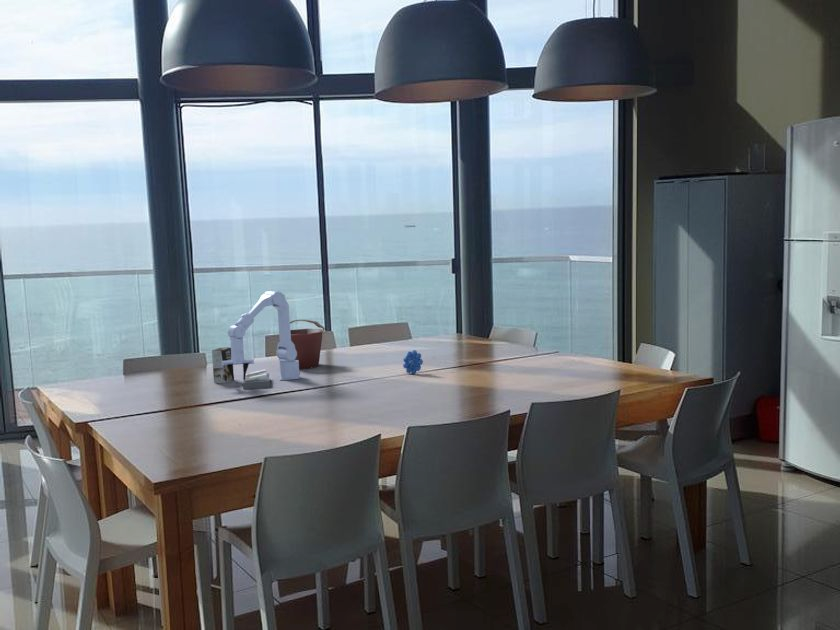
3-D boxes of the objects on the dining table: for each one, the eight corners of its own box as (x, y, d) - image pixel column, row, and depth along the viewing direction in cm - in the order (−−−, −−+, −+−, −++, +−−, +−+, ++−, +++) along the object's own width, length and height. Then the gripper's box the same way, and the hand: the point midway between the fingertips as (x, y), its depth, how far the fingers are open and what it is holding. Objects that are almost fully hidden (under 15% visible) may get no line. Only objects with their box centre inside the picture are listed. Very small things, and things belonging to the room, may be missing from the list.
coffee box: (225, 383, 402) (223, 350, 400) (213, 383, 404) (211, 350, 402) (233, 379, 411) (231, 347, 409) (221, 379, 413) (219, 347, 411)
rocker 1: (266, 371, 404) (266, 368, 404) (266, 372, 401) (266, 369, 401) (246, 376, 403) (245, 373, 403) (246, 377, 400) (245, 374, 400)
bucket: (334, 364, 443) (332, 317, 440) (307, 371, 424) (305, 323, 421) (299, 361, 456) (296, 316, 453) (271, 368, 437) (268, 321, 434)
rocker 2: (266, 376, 394) (266, 373, 393) (266, 377, 391) (266, 374, 391) (245, 380, 392) (245, 377, 392) (245, 381, 389) (245, 378, 389)
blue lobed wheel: (428, 373, 408) (427, 349, 406) (420, 376, 402) (419, 351, 401) (408, 371, 414) (407, 347, 413) (400, 374, 409) (399, 349, 408)
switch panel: (269, 379, 408) (269, 372, 408) (269, 387, 388) (269, 380, 388) (244, 381, 406) (243, 374, 405) (243, 389, 386) (243, 382, 386)
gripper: (220, 353, 383) (222, 382, 385) (253, 351, 386) (254, 380, 387) (221, 350, 390) (223, 379, 392) (253, 349, 393) (254, 377, 394)
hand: (238, 379), depth 390 cm, fingers open, 4 cm apart
